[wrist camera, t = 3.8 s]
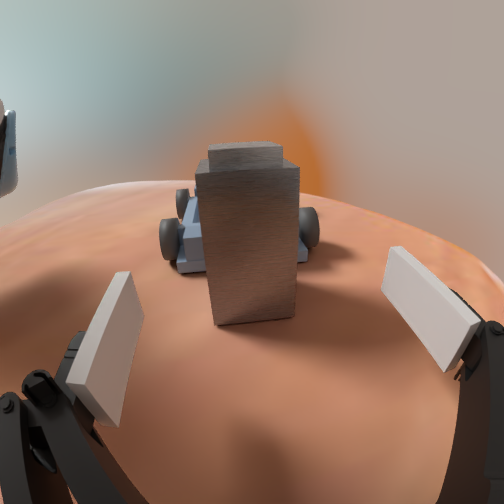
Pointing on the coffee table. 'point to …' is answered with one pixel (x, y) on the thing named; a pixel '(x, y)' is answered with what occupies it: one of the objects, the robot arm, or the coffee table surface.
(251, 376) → the coffee table surface
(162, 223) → the chassis
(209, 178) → the block
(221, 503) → the coffee table surface
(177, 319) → the coffee table surface
